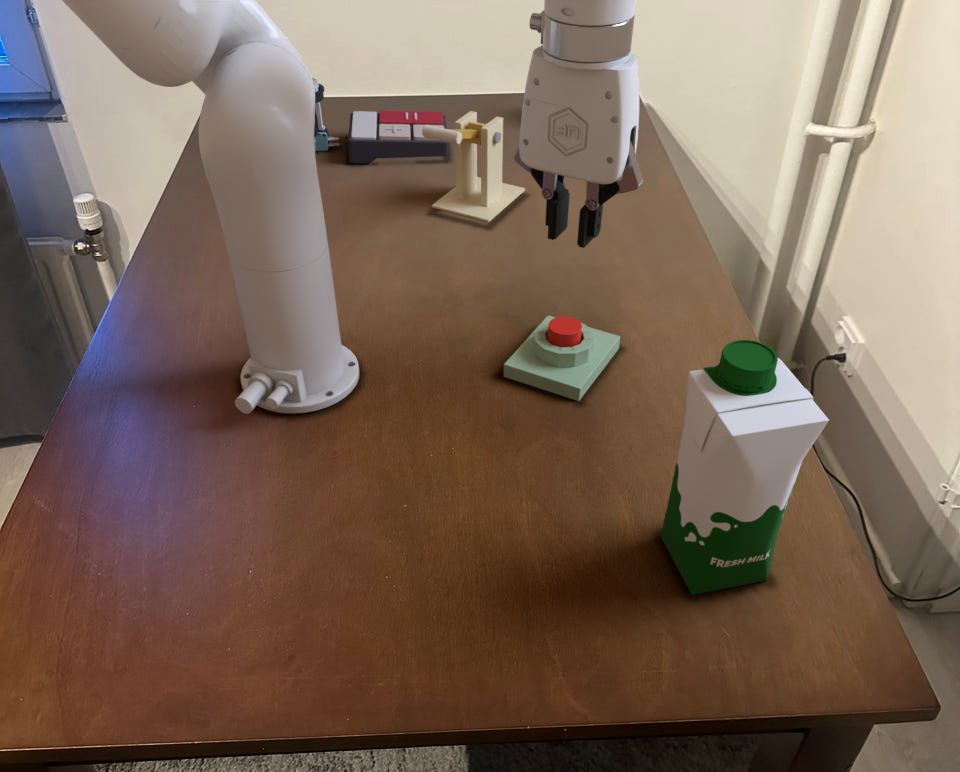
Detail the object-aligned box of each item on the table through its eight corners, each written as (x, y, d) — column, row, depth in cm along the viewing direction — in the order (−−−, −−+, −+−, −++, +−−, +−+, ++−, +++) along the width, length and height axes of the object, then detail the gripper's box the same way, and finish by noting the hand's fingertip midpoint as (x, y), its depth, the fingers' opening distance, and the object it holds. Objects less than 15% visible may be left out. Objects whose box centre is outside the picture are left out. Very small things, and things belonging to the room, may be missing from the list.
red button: (572, 352, 95) (573, 338, 93) (541, 342, 96) (542, 329, 95) (586, 335, 97) (587, 321, 96) (556, 326, 98) (557, 312, 97)
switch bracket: (488, 228, 121) (489, 141, 112) (431, 213, 124) (428, 127, 116) (525, 196, 128) (528, 112, 119) (470, 182, 131) (469, 99, 122)
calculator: (448, 137, 133) (347, 135, 132) (448, 165, 136) (349, 163, 135) (445, 109, 141) (350, 107, 140) (444, 136, 144) (351, 134, 143)
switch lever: (455, 148, 110) (458, 128, 108) (420, 140, 111) (423, 120, 110) (498, 146, 120) (501, 127, 118) (466, 139, 121) (468, 120, 120)
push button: (341, 141, 141) (334, 75, 134) (337, 155, 137) (329, 88, 130) (299, 141, 141) (290, 75, 134) (294, 155, 137) (284, 88, 130)
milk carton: (736, 514, 82) (789, 329, 68) (782, 588, 75) (852, 401, 61) (646, 530, 80) (681, 344, 66) (686, 607, 74) (734, 420, 60)
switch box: (578, 401, 94) (581, 374, 91) (503, 377, 97) (503, 350, 94) (619, 348, 100) (622, 322, 98) (547, 327, 104) (548, 301, 101)
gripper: (482, 34, 76) (482, 234, 88) (662, 66, 70) (634, 275, 83) (522, 10, 80) (516, 204, 93) (693, 39, 75) (662, 240, 88)
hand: (572, 236), depth 88 cm, fingers closed
